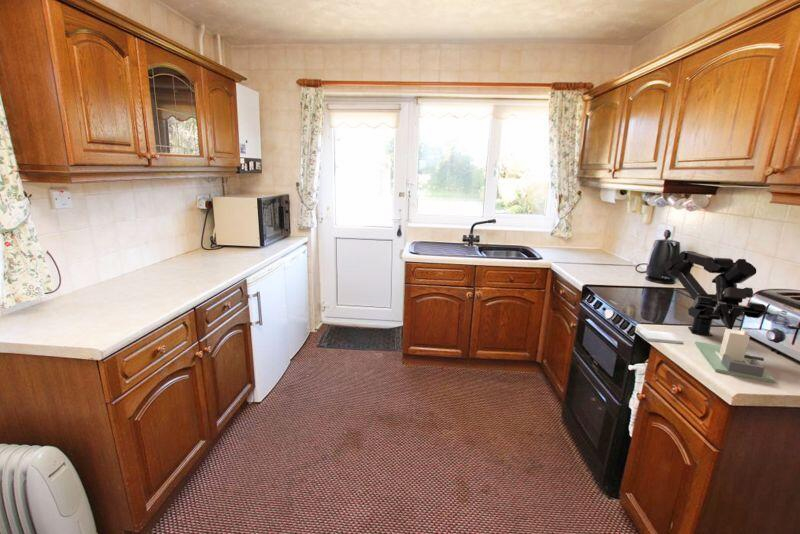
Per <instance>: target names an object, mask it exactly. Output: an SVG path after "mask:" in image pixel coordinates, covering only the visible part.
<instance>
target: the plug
mask: <svg viewBox="0 0 800 534" xmlns="http://www.w3.org/2000/svg"><path fill="white" fill-rule="evenodd" d="M750 337H751V336H750V335H749V332H748V331H747V330H746V328H742V327H741V328H740V330H739V329H738V330H737V329H733V328H732V329H727V328H725V330H724V333H723V338H722V342H721V345H720V346H721V349H720V352H719V354H720V355H721V356H722V357H723V354H727V355H728V356H729V357H730V358H731V359H732V360H734V361H740V362H743V360H744V358H748V359H756V360H757V361H761V362H764V361H765V359H764V357H761V356H760V357H759V356H755V355H751V356H749V355H745V352H746V351H747V348H748V344H749V340H750Z"/></svg>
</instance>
